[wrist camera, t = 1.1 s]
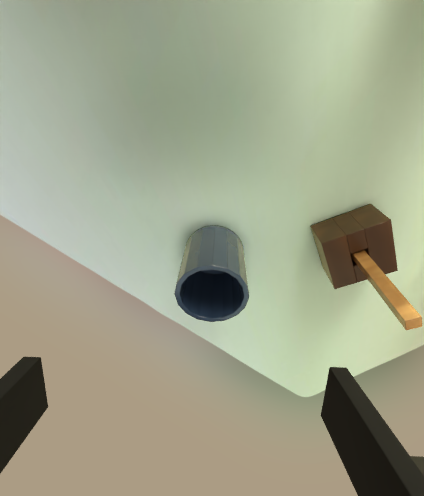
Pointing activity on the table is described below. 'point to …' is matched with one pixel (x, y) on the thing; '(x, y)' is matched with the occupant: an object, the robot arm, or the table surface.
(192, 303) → the cup
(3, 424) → the robot arm
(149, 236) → the table surface
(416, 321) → the stir stick
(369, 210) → the stick holder
